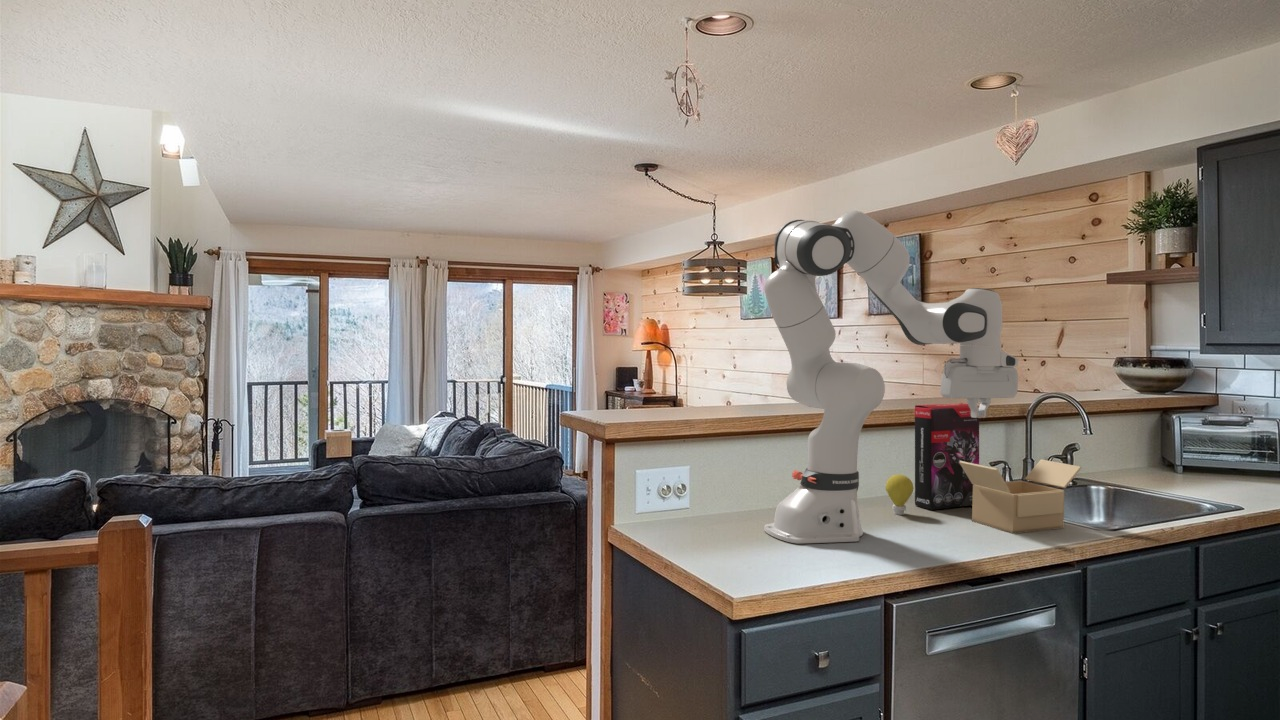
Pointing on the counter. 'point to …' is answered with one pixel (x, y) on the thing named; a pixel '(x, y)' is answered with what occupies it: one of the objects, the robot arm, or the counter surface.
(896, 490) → the light bulb
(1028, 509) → the carton
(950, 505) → the graphics card box
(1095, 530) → the counter surface
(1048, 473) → the flap far
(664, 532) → the counter surface
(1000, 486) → the flap near
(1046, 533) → the counter surface
